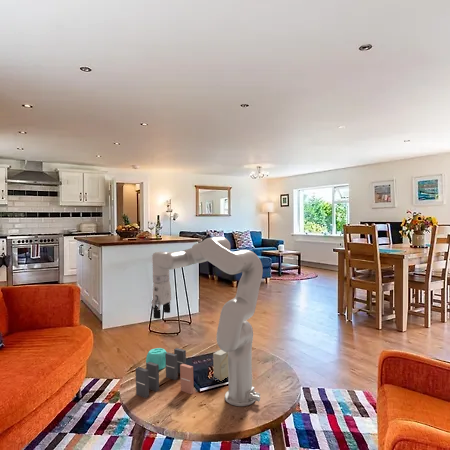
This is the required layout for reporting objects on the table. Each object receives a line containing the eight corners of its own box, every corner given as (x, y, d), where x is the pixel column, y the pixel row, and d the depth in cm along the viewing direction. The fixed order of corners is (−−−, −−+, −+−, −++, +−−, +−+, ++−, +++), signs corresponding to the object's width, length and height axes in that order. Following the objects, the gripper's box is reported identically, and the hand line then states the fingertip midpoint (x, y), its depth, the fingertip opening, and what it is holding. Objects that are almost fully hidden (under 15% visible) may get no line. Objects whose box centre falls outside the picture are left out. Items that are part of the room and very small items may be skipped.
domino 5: (183, 388, 147) (182, 363, 147) (193, 392, 144) (193, 366, 144) (180, 390, 146) (180, 365, 146) (190, 394, 143) (190, 368, 142)
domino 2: (149, 386, 150) (149, 361, 150) (159, 389, 147) (158, 364, 147) (146, 388, 148) (146, 363, 148) (156, 391, 145) (155, 366, 145)
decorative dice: (145, 369, 167) (145, 353, 167) (154, 362, 175) (153, 347, 174) (160, 371, 165) (160, 355, 164) (168, 364, 172) (168, 348, 172)
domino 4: (177, 370, 165) (176, 347, 165) (186, 373, 162) (185, 350, 162) (174, 372, 164) (174, 349, 163) (183, 374, 160) (183, 351, 160)
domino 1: (139, 392, 145) (138, 366, 145) (149, 396, 142) (148, 369, 142) (136, 394, 143) (135, 368, 143) (145, 398, 140) (145, 371, 140)
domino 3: (168, 375, 160) (168, 352, 160) (177, 378, 157) (177, 354, 157) (165, 377, 158) (165, 353, 158) (175, 380, 155) (174, 356, 155)
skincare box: (220, 382, 152) (220, 355, 152) (213, 380, 155) (212, 353, 155) (229, 377, 157) (228, 351, 157) (221, 374, 160) (221, 348, 160)
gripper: (159, 282, 150) (160, 321, 150) (176, 275, 166) (177, 310, 167) (144, 281, 152) (145, 320, 152) (162, 275, 168) (163, 310, 169)
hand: (162, 315), depth 159 cm, fingers open, 9 cm apart
